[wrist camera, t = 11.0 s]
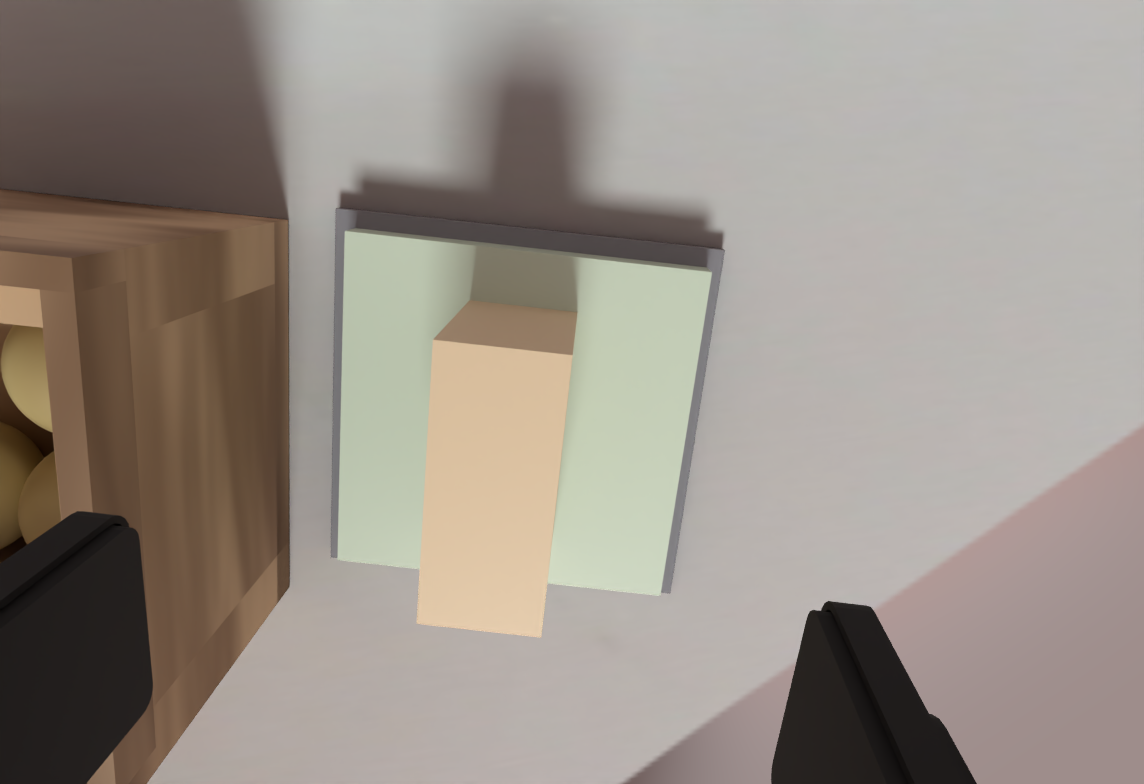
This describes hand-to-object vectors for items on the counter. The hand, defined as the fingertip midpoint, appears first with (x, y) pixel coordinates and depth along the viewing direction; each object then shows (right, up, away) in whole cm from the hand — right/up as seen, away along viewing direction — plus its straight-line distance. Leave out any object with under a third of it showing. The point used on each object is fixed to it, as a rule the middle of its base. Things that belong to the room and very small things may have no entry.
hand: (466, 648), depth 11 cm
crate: (-13, +3, +13) cm, 19 cm away
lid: (0, +3, +12) cm, 13 cm away
